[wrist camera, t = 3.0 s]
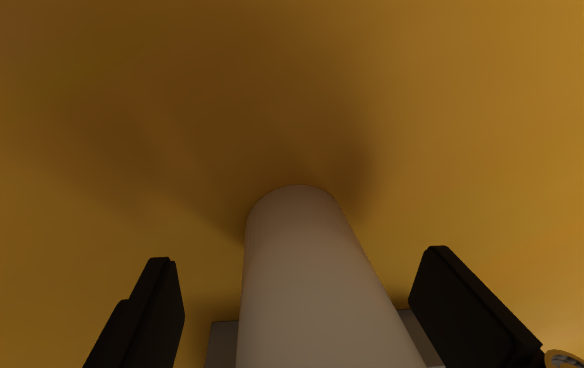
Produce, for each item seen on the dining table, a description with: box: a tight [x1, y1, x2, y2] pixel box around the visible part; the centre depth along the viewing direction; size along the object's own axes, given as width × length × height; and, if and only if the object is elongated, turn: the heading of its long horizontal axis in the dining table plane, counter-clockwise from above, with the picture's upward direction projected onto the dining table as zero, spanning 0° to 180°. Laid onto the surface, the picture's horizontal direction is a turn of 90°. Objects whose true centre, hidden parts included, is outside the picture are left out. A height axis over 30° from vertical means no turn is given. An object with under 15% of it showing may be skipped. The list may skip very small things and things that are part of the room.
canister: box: [236, 185, 427, 368], centre depth 10 cm, size 5×5×9 cm
